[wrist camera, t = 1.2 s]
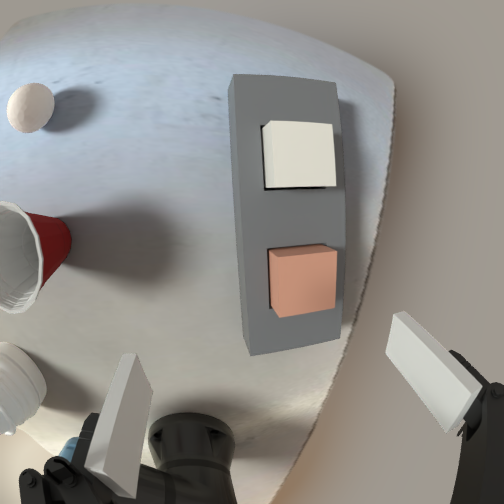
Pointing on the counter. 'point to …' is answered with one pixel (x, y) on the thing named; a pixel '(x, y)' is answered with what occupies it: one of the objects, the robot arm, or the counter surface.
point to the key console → (282, 207)
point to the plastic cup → (28, 254)
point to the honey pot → (18, 388)
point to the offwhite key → (298, 154)
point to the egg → (30, 107)
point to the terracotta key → (302, 279)
